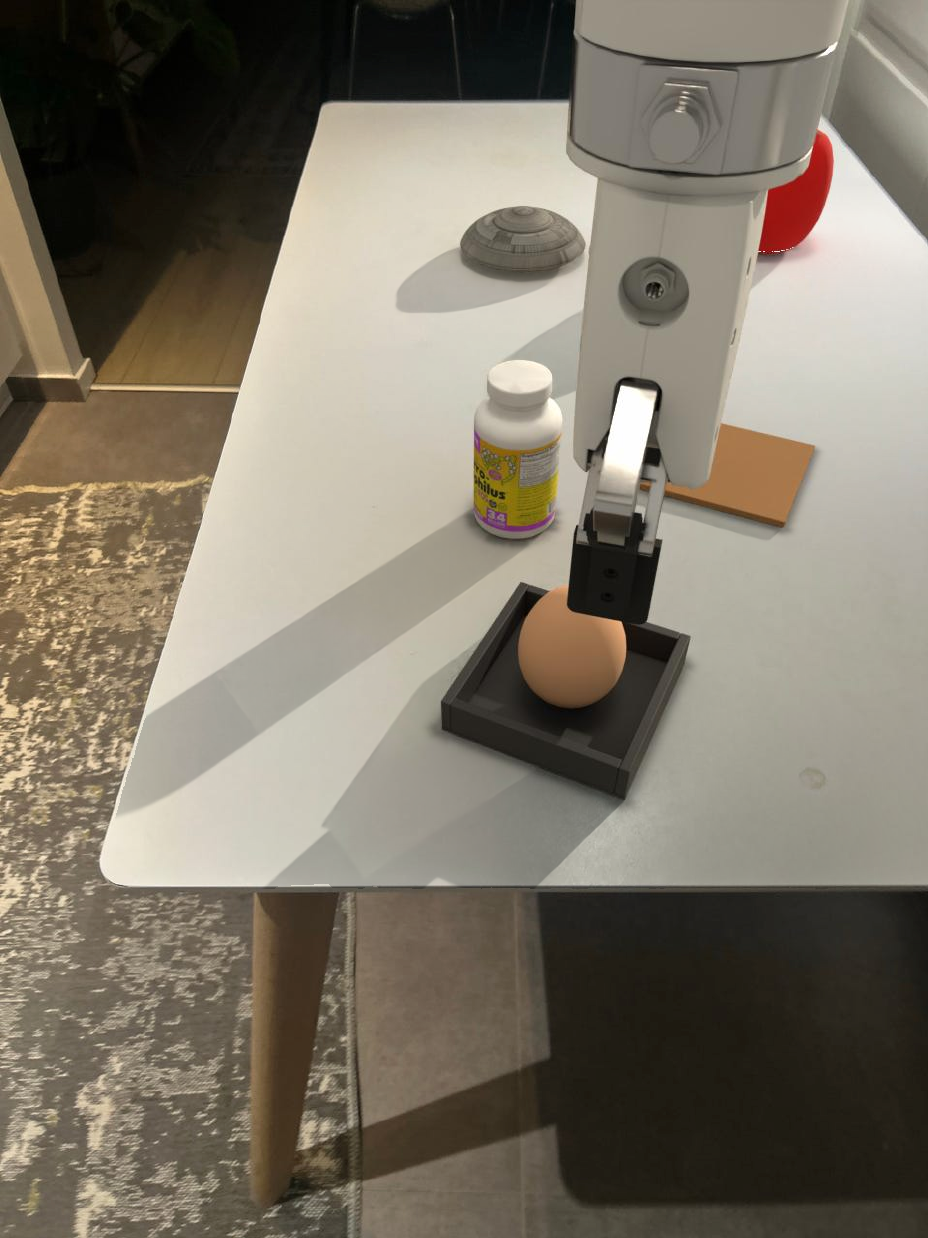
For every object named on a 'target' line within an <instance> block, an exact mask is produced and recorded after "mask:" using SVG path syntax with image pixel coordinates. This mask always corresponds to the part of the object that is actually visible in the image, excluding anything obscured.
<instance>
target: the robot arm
mask: <svg viewBox="0 0 928 1238" xmlns="http://www.w3.org/2000/svg"><path fill="white" fill-rule="evenodd" d="M849 1H850V0H575V13H574V14H575V15H574V29H573V34H572V36H573V37H572V50H571V66H570V78H569V79H570V81H569V93H568V94H569V97H568V109H567V110H568V112H567V124H566V125H567V127H566V141H565V142H566V143H565V153H566V155H567V156H568V159H569V161H571V163H572V164H573V165H574V166H576V167H577V168H579V170H581V171H583V172H584V173H587V174H588V175H591V176H592V177H595V178H597V180H596V191H595V199H594V209H593V216H592V225H591V233H590V241H589V242H590V244H589V246H588V260H587V261H588V263H587V270H586V282H585V289H584V300H583V312H582V321H581V331H580V342H579V352H578V365H577V373H576V374H577V376H576V388H575V399H574V400H575V402H574V419H573V440H572V455H573V456H572V457H573V459H574V462H575V463H576V465H577V466H578V467H579V468H580V469H581V470H582V471H583V472H584V473H588V474H587V479H586V484H585V489H584V495H583V500H582V504H581V510H580V516H579V520H578V524H576V525H575V527H574V531H573V536H572V537H573V538H572V547H571V558H570V566H569V567H570V568H569V577H568V585H569V586H568V596H567V607H568V608H569V609H570V610H571V611H572V612H575V613H580V614H585V615H590V616H595V617H600V618H606V619H611V620H616V621H621V622H626V623H631V624H637V625H640V624H644V623H645V622H648V619H649V614H650V610H651V604H652V599H653V595H654V589H655V583H656V578H657V572H658V569H659V567H658V566H659V561H660V558H661V557H660V556H661V553H662V545H663V539H661V538H657V534H658V528H659V522H660V518H661V513H662V508H663V504H664V500H665V499H664V498H665V496H664V494H665V489H666V484H667V482H671V484H672V485H677V486H685V487H689V489H691V490H695V489H697V488H699V487H700V486H702V485H703V484H704V483H706V482H707V481H708V479H709V476H710V472H711V467H712V463H713V458H714V453H715V448H716V444H717V439H718V434H719V430H720V425H721V423H722V422H723V421H722V420H723V416H724V412H725V407H726V403H727V398H728V394H729V389H730V384H731V379H732V376H733V373H734V367H735V362H736V358H737V353H738V349H739V344H740V340H741V335H742V330H743V325H744V322H745V318H746V313H747V308H748V303H749V299H750V295H751V289H752V284H753V280H754V274H755V269H756V264H757V259H758V254H759V253H758V249H759V244H760V239H761V233H762V227H763V221H764V215H765V209H766V202H767V195H768V189H772V188H775V187H778V186H781V185H784V184H787V183H789V182H791V181H793V180H795V179H796V178H797V177H798V176H800V175H802V174H803V173H804V172H805V171H806V169H807V168H808V166H809V162H810V157H811V153H812V148H813V144H814V141H815V137H816V133H817V129H818V130H819V125H820V120H821V116H822V112H823V108H824V105H825V104H824V103H825V100H826V97H827V96H826V95H827V91H828V87H829V84H830V79H831V75H832V70H833V67H834V63H835V59H836V55H837V50H838V47H839V40H840V38H841V33H842V30H843V26H844V21H845V18H846V14H847V10H848V6H849V5H848V4H849ZM642 482H643V483H649V484H651V485H650V490H649V491H648V496H647V500H646V506H645V512H644V516H643V513H642V512H636V507H637V501H638V494H639V489H640V485H641V483H642Z"/></svg>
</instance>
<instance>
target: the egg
mask: <svg viewBox="0 0 928 1238" xmlns="http://www.w3.org/2000/svg"><path fill="white" fill-rule="evenodd" d="M568 586H569V584H566V585H561V586H558V587H555V588H553V589H551V590H549V591H550V592H548V593H547V594H546V595H544V596H543V597H542V598H541V599H540V600H539V601H538V602H537V603H536V604H535V606H534V607H533V608H532V610H531V611H530V612H529V614H528V616H527V617H526V619H525V621H524V624H523V626H522V629H521V633H520V638H519V644H518V657H519V665H520V668H521V671H522V674H523V677H524V679H525V680H526V682H527V684H528V685H529V687H530V688H531V689H532V690H533V691H534V692H535V693H536V694H537V695H538V696H539V697H541V698H542V699H543V700H544V701H546V702H548V703H550V704H552V705H555V706H558V707H563V708H581V707H585V706H588V705H590V704H593V703H595V702H597V701H599V700H600V699H601V698H603V697H604V696H605V695H606V694H607V693H608V692H609V691H610V690H611V689H612V688H613V687H614V686H615V684H616V682H617V680H618V678H619V676H620V674H621V672H622V670H623V666H624V662H625V657H626V636H625V632H624V629H623V625H622V622H621V621H616V620H611V619H606V618H600V617H595V616H590V615H585V614H580V613H575V612H572V611H571V610H570V609H569V608H568V607H567V596H568Z"/></svg>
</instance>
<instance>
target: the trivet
mask: <svg viewBox="0 0 928 1238" xmlns="http://www.w3.org/2000/svg"><path fill="white" fill-rule="evenodd" d="M815 448H816V445H814V444H809V443H805V442H801V441H797V440H793V439H789V438H785V437H782V436H777V435H772V434H768V433H764V432H760V431H757V430H756V431H755V430H752V429H747V428H744V427H740V426H735V425H730V424H726V423H722V422H721V425H720V430H719V434H718V439H717V444H716V448H715V453H714V458H713V463H712V467H711V472H710V476H709V479H708V481H707V482H706V483H704V484H703V485H702V486H700V487H699V488H697V489H695V490H691V489H689V487H685V486H677V485H672V484H671V482H667V484H666V489H665V494H664V497H668V498H671V499H676V500H679V501H683V502H686V503H690V504H695V505H698V506H702V507H705V508H708V509H712V510H717V511H720V512H724V513H728V514H732V515H735V516H739V517H741V518H746V519H749V520H753V521H757V522H760V523H764V524H767V525H771V526H775V527H779V528H784V527H785V525H786V523H787V521H788V517H789V515H790V513H791V510H792V507H793V505H794V502H795V500H796V497H797V494H798V492H799V489H800V487H801V485H802V482H803V479H804V477H805V474H806V471H807V469H808V467H809V464H810V461H811V459H812V456H813V453H814V451H815ZM650 485H651V484H649V483H643V482H640V485H639V489H640V490H642V491H645V492H649V490H650Z"/></svg>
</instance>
